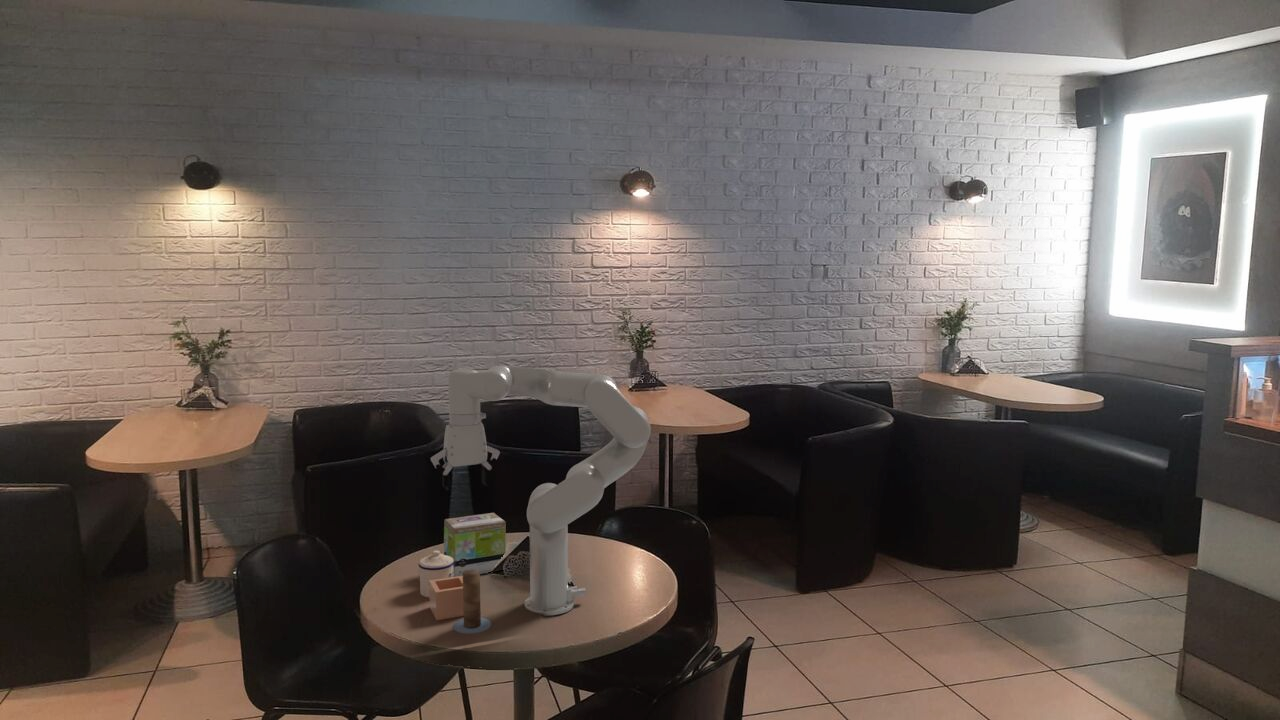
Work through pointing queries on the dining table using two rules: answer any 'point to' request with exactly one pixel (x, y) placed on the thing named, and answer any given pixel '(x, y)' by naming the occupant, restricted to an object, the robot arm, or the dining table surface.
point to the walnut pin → (471, 599)
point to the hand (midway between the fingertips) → (466, 487)
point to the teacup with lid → (434, 570)
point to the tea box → (475, 542)
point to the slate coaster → (460, 628)
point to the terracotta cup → (446, 597)
